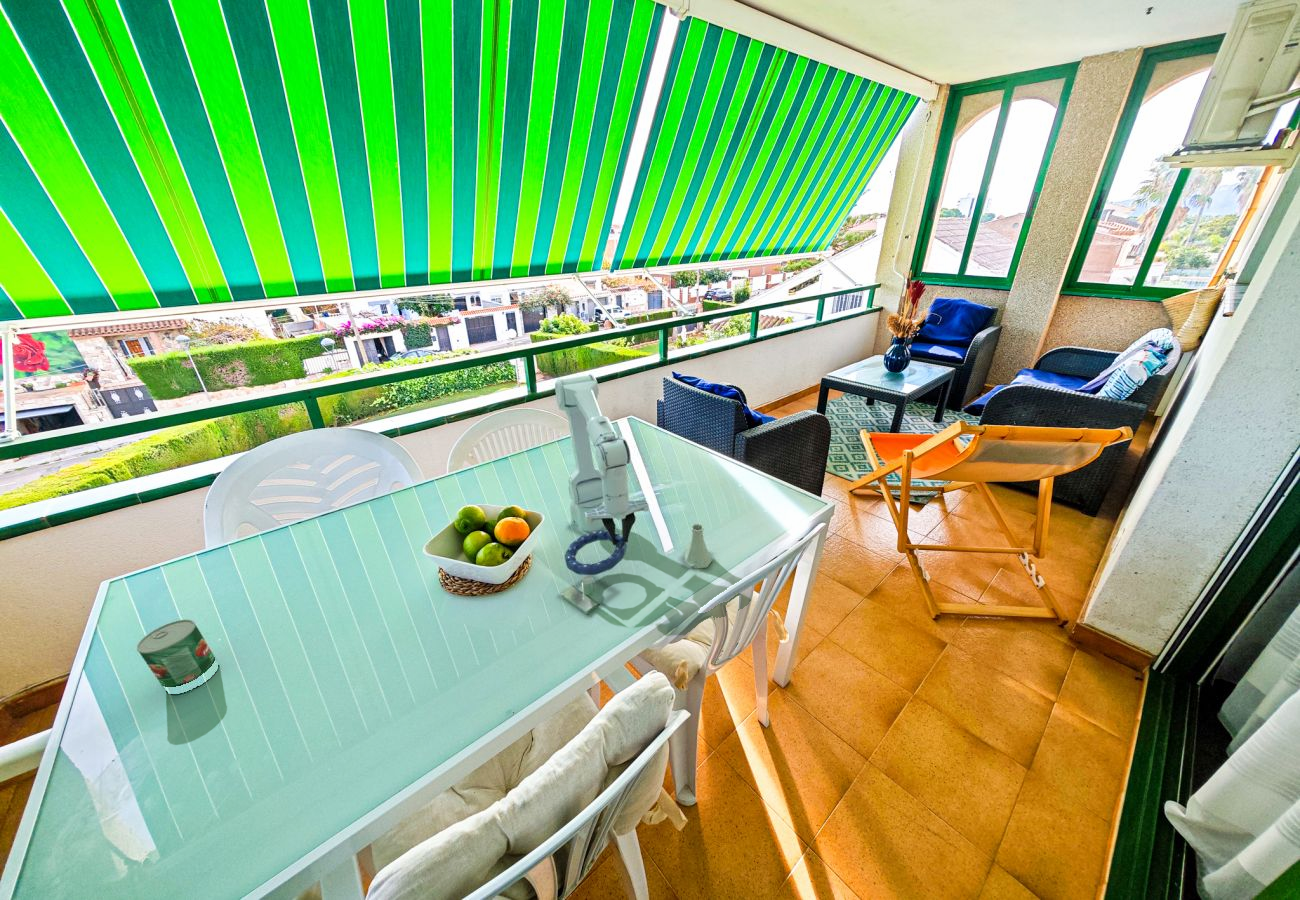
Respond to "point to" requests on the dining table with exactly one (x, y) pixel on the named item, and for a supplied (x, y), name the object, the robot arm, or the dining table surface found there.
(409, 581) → the dining table surface
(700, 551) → the flask
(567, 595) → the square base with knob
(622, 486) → the robot arm
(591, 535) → the ring
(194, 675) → the canned tomato
